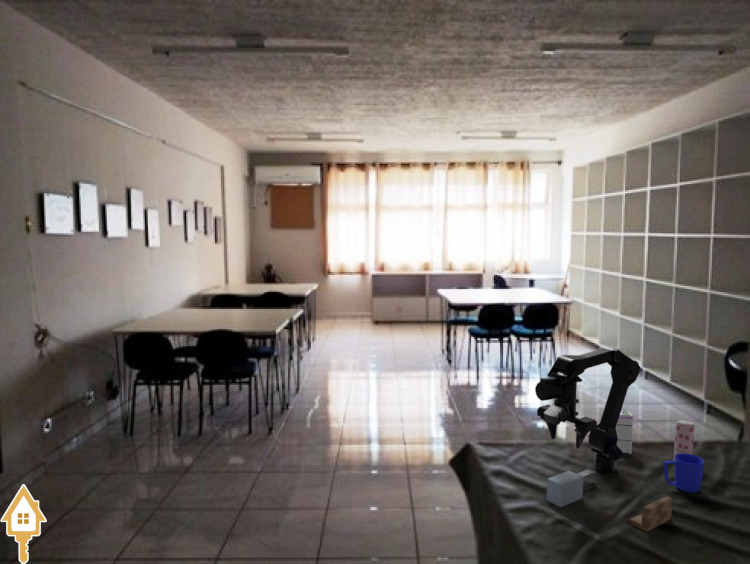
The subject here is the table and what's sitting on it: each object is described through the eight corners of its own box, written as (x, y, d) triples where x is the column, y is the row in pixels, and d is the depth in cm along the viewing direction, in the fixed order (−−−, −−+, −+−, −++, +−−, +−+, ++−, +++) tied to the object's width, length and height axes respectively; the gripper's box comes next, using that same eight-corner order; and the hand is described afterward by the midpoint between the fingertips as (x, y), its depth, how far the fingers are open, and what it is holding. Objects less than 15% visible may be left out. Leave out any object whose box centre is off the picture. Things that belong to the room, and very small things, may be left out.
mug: (655, 483, 177) (657, 453, 176) (691, 482, 178) (693, 452, 177) (671, 496, 169) (673, 464, 168) (708, 495, 170) (710, 463, 169)
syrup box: (632, 454, 200) (634, 415, 199) (614, 453, 201) (616, 414, 200) (628, 448, 206) (630, 410, 204) (611, 446, 207) (613, 409, 205)
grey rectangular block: (587, 479, 176) (588, 469, 176) (594, 482, 174) (594, 472, 174) (567, 487, 171) (568, 476, 170) (574, 490, 169) (574, 479, 168)
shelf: (584, 480, 178) (585, 462, 178) (670, 519, 155) (672, 498, 155) (560, 490, 172) (561, 470, 171) (646, 531, 149) (648, 509, 148)
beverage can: (685, 468, 189) (688, 425, 187) (669, 462, 194) (672, 420, 192) (695, 464, 192) (698, 423, 190) (679, 458, 197) (682, 418, 195)
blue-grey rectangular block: (567, 495, 168) (569, 470, 168) (582, 502, 164) (583, 476, 164) (546, 504, 163) (547, 478, 162) (560, 511, 159) (561, 485, 158)
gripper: (526, 393, 178) (525, 440, 179) (576, 409, 162) (574, 460, 164) (548, 387, 184) (547, 432, 186) (599, 402, 169) (597, 451, 170)
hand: (565, 443), depth 176 cm, fingers open, 9 cm apart
